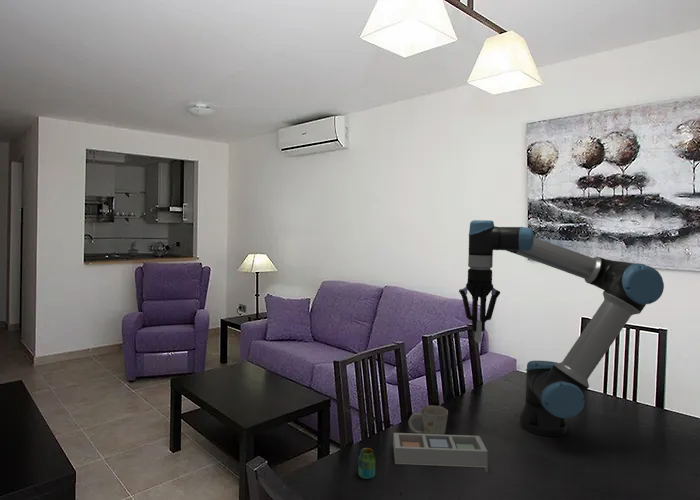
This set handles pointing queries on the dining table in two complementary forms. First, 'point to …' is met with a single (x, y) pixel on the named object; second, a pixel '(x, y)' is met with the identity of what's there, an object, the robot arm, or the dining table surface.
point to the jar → (366, 464)
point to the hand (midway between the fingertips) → (477, 341)
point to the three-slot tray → (440, 451)
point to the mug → (431, 420)
